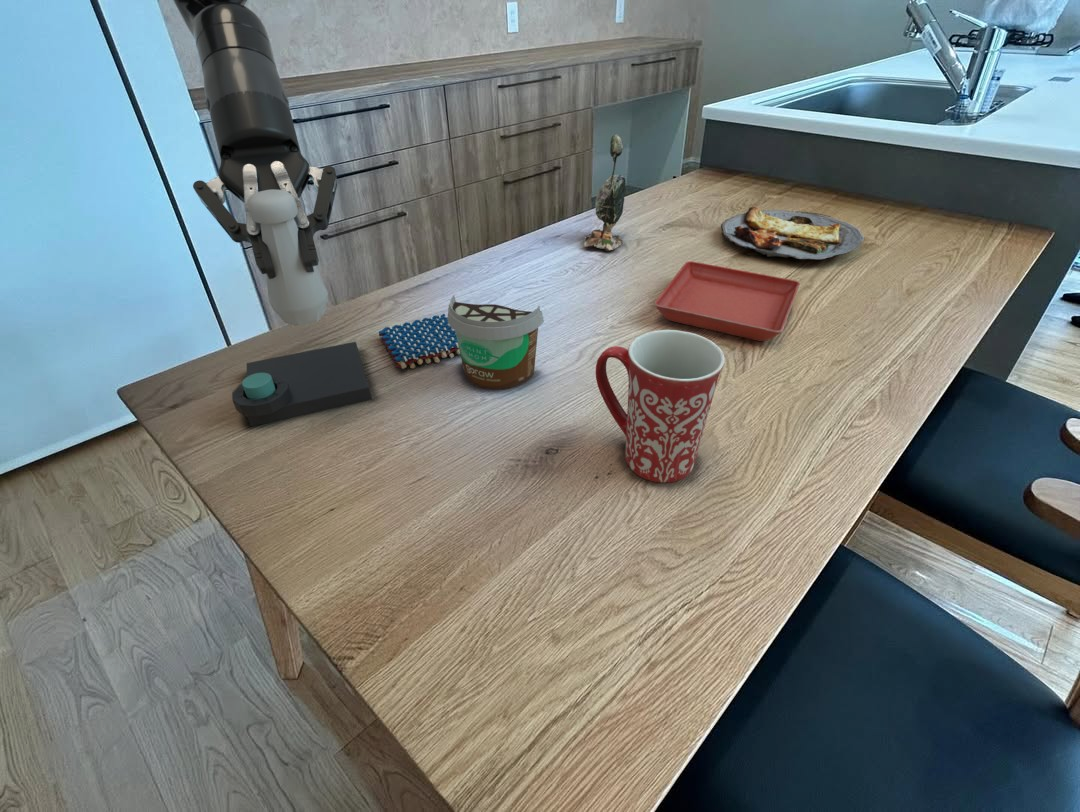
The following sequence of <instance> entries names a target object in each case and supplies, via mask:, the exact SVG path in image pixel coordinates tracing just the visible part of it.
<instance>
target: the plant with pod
mask: <svg viewBox="0 0 1080 812" xmlns="http://www.w3.org/2000/svg"><path fill="white" fill-rule="evenodd" d="M609 143H610V146H609V147H610V149H609V154H610V156H611V158H612V161H613V169H612V175H610V176H609V177H608V178H607V179H606V180H605V181H604V183H603V184H602V185H601V187H600V188H599V189H598V192H597V194H596V196H595V204H594V208H595V216H596V217H597V219H598V220H600V221H602V222H603V225H602V230H601V229H593V231H592V232H591V233H588V234H587V236H585V237H583V248H589V247H594V248H598V249H600V250H601V249H602V250H605V251H606V252H611V251H614V250H616V249H617V248H619V246H622V245H623V243H624V242H623V239H621V236H620V235H619V234H618V235H616V234H615V235H613V234H612V233H613V232H612V230H613V228H614V227H615V226H616V225H617V223H618V222H619V220H620V219H621V216H622V215H623V212H624V205H625V196H626V192H627V186H626V184H627V183H626V177H625V176H623V175H621V174H615V170H616V164H617V158H619V157H620V156H621V155H622V153H623V150H624V146H623V145H624V144H623V140H622V137H620V136H619V135H618V133H616V134H614V135H612V136H611V139H610V142H609ZM625 175H626V176H628V174H627V173H626V174H625Z"/></svg>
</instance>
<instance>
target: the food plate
mask: <svg viewBox="0 0 1080 812" xmlns="http://www.w3.org/2000/svg"><path fill="white" fill-rule="evenodd" d="M720 229H721V235H723V237H724V238H726V239H725V241H728V242H730V243H731V242H734V244H735V245H736V246H738V247H744V248H749V249H752V250H754V251H755V252H757V253H759V254H762V255H766V257H780V258H790V257H792V258H794V259H797V260H826V259H827V258H833V257H834V256H837V255H843V254H847V253H849V252H851V251H853V250H855V249H857V248H858V247H859V246H860V245H861V244H862V243H863V241H864V240H865V236H864V235H863V234H862V232H861V230H860V229H859V228H858V227H856V226H854V224H851V223H849V222H847V221H844V220H839V219H838V218H834V217H832V216H830V215H827V214H823V213H817V212H809V211H799V210H787V209H766V210H761V209H760V208H759V207H757V206H750V207H749V208H748V210H747V211H746V212H744V213H740V214H739V213H738V214H736V215H734V216H730V217H729V218H727V219H725V220H724V221H723V222H722V223H721V225H720Z"/></svg>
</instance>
